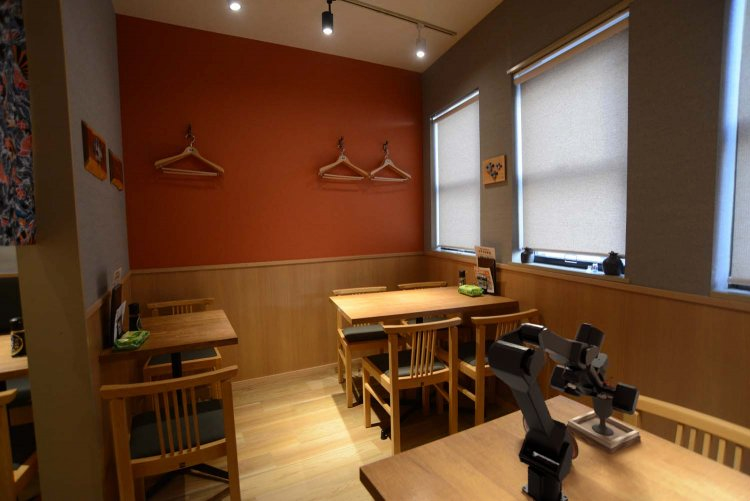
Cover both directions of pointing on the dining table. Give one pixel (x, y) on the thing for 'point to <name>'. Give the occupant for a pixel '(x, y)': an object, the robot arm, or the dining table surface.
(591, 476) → the dining table surface
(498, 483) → the dining table surface
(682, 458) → the dining table surface
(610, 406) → the sundae
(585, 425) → the board
